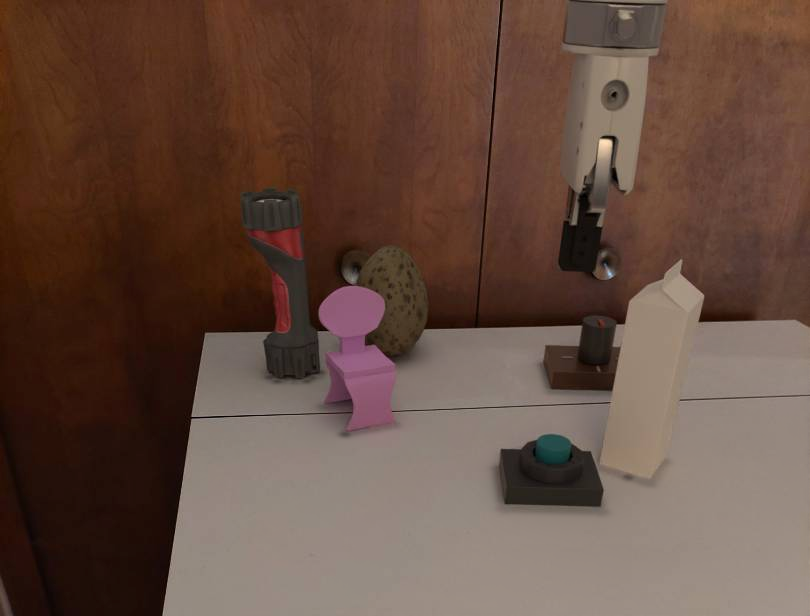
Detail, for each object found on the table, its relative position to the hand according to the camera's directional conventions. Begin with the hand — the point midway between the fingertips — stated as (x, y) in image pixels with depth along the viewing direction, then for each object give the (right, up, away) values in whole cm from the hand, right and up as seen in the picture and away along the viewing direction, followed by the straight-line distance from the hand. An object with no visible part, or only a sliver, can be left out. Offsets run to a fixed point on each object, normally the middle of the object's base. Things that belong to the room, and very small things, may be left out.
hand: (576, 268), depth 73 cm
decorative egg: (-18, +2, +42) cm, 46 cm away
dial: (+10, 0, +36) cm, 37 cm away
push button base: (0, -19, +14) cm, 23 cm away
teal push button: (0, -16, +12) cm, 20 cm away
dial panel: (+10, -2, +37) cm, 38 cm away
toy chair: (-21, -9, +27) cm, 35 cm away
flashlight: (-32, -2, +37) cm, 49 cm away
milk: (+10, -16, +19) cm, 27 cm away
